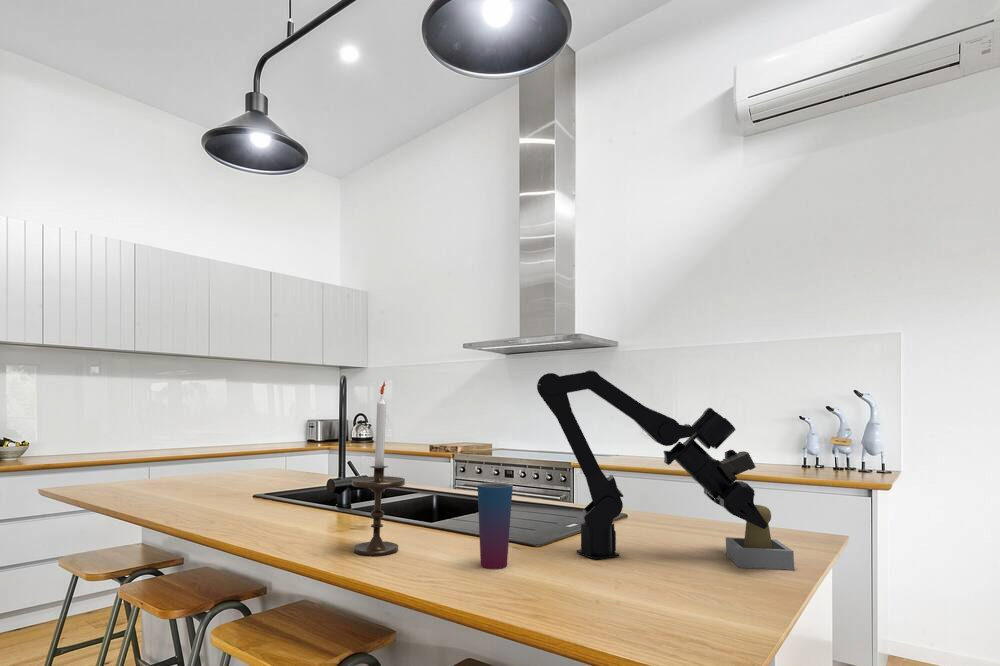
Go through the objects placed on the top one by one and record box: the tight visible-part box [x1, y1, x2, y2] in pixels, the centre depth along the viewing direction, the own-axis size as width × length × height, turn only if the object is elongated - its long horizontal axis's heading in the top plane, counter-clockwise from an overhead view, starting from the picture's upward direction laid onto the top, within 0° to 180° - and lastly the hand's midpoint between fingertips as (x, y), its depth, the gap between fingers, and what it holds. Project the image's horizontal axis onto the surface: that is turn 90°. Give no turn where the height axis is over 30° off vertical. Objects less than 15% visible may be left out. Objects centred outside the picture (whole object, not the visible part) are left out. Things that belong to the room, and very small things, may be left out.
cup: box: [477, 481, 514, 570], centre depth 114 cm, size 7×7×15 cm
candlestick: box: [351, 380, 406, 557], centre depth 125 cm, size 11×11×35 cm
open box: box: [725, 536, 795, 571], centre depth 119 cm, size 10×10×4 cm
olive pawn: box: [744, 504, 773, 549], centre depth 119 cm, size 6×6×11 cm
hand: (758, 522), depth 119 cm, fingers open, 9 cm apart
